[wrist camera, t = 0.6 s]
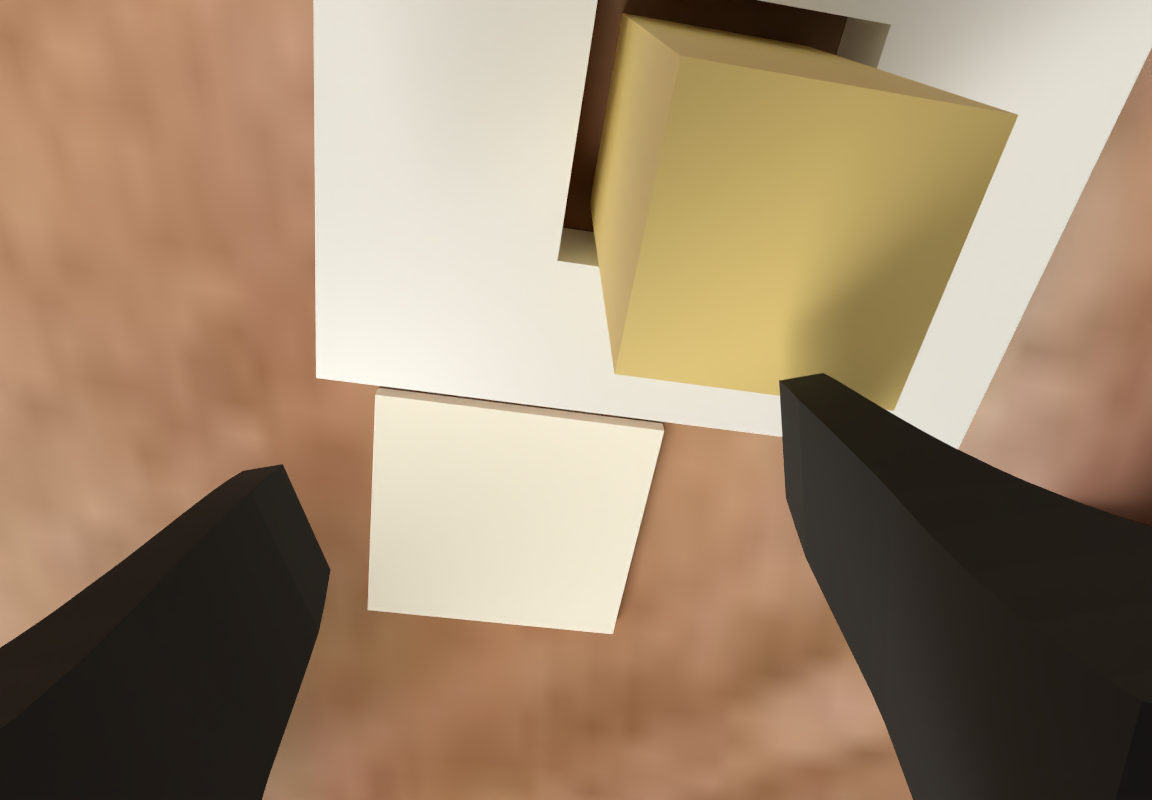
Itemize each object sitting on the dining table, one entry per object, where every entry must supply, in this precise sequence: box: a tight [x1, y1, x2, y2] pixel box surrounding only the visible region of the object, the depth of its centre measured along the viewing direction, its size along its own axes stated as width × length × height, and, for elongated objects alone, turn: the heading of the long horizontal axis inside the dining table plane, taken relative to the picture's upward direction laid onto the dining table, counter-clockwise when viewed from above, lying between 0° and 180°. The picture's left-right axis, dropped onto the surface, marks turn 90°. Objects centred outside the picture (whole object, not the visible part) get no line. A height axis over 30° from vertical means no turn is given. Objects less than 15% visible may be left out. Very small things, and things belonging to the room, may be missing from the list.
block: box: [590, 13, 1018, 411], centre depth 14 cm, size 4×4×9 cm
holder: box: [314, 0, 1152, 449], centre depth 17 cm, size 16×13×2 cm
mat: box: [368, 388, 664, 634], centre depth 23 cm, size 8×8×1 cm
